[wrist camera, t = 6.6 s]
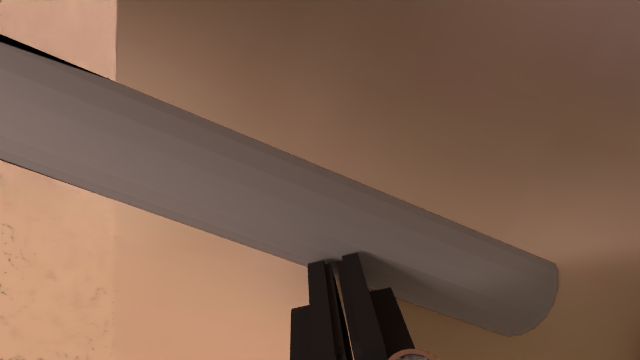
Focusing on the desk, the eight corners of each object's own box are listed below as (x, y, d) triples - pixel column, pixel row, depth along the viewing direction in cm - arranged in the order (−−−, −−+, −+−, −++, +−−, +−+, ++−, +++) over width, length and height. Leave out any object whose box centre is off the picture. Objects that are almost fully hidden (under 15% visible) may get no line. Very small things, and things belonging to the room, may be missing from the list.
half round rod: (488, 326, 15) (512, 361, 14) (-27, 145, 12) (-82, 163, 10) (548, 243, 14) (583, 270, 12) (-5, 9, 10) (-64, 2, 9)
